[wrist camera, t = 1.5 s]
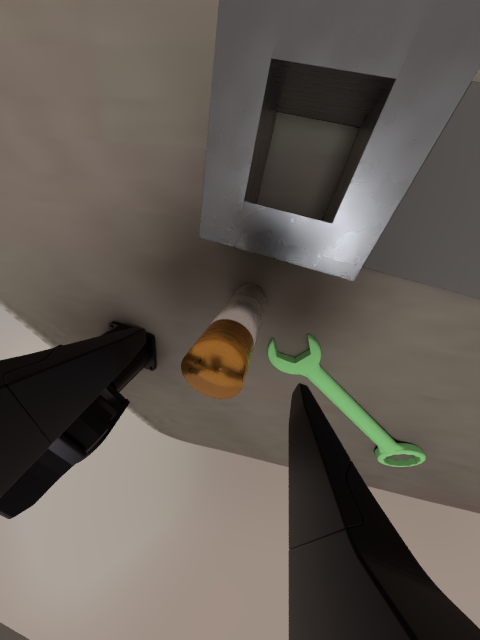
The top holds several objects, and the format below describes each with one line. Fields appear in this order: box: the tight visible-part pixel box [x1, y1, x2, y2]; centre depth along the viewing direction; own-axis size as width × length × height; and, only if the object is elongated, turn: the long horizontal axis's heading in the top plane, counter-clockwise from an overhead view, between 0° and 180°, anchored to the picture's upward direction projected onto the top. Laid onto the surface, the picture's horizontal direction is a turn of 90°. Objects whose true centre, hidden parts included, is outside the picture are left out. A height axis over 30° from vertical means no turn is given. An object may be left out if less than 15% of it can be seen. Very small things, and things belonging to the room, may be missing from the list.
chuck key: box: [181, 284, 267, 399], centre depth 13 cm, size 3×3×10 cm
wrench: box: [268, 334, 426, 467], centre depth 20 cm, size 25×2×5 cm
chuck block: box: [199, 0, 480, 281], centre depth 10 cm, size 10×10×4 cm
